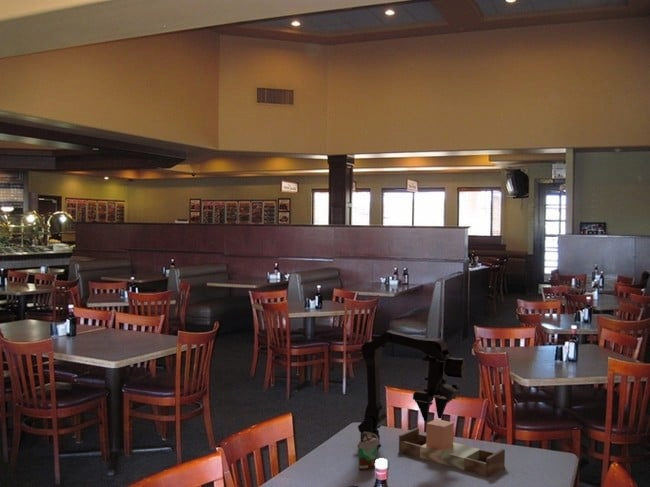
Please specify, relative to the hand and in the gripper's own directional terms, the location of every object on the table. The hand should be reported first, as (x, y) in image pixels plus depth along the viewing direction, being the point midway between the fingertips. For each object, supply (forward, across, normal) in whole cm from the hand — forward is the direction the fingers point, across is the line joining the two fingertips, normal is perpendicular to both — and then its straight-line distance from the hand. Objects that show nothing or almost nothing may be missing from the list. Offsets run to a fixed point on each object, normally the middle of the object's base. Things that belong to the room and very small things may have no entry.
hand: (432, 419), depth 226 cm
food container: (+17, -17, +13) cm, 27 cm away
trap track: (+14, +7, -3) cm, 16 cm away
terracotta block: (+10, +7, +1) cm, 12 cm away
